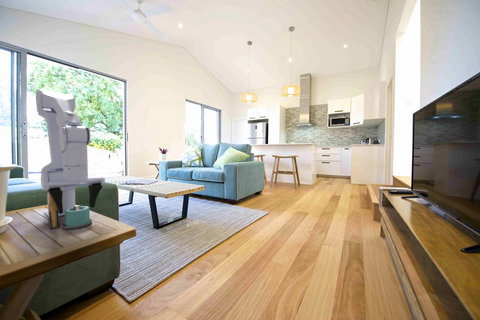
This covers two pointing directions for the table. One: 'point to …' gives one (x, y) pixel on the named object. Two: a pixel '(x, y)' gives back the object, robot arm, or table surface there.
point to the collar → (77, 216)
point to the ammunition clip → (53, 213)
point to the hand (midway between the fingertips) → (77, 209)
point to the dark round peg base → (75, 208)
